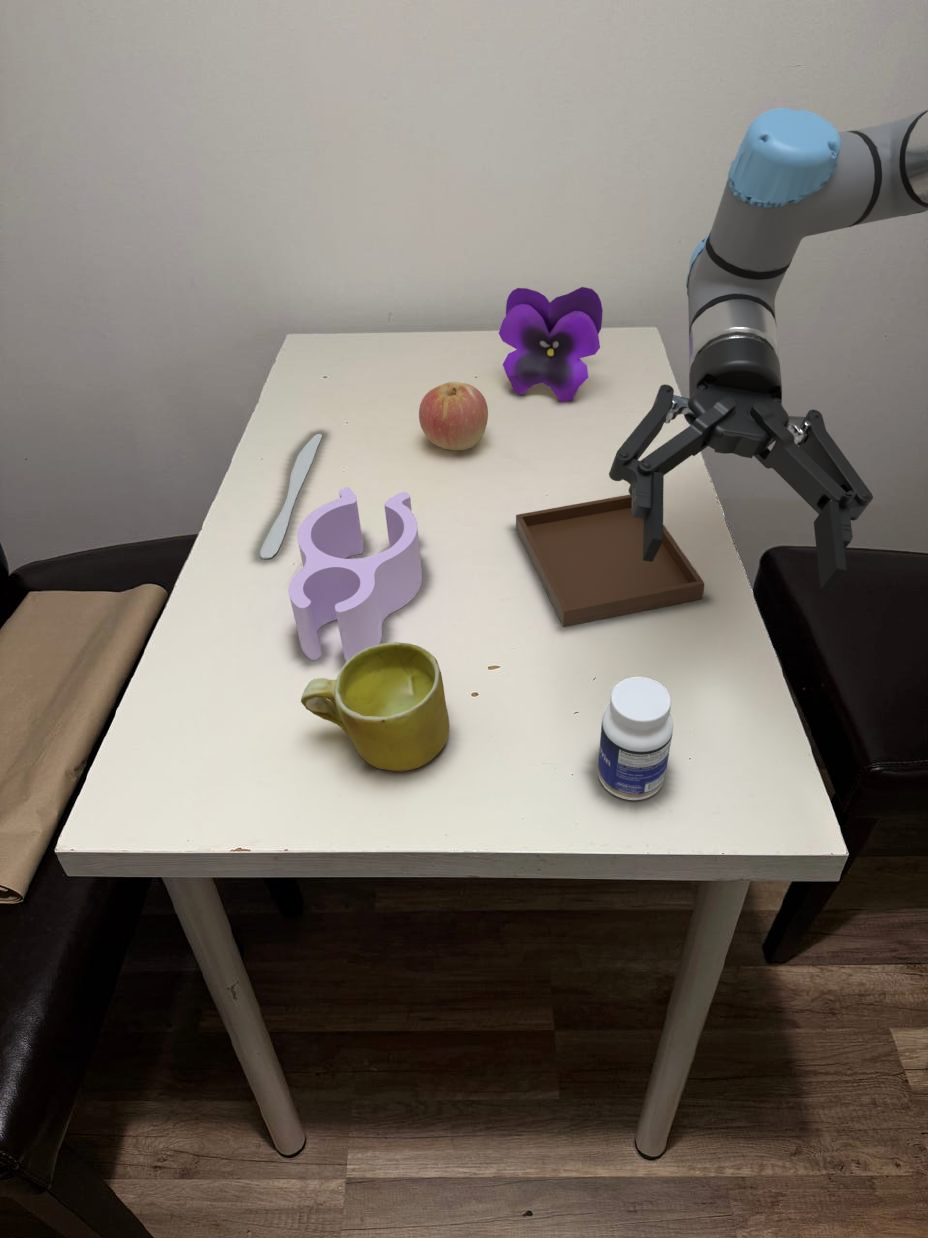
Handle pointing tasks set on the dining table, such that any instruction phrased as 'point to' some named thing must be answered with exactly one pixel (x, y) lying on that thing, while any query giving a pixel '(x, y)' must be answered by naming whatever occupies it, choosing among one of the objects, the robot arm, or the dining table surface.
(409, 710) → the mug
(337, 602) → the clip
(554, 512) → the brown square tray
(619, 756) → the pill bottle
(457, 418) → the apple
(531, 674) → the dining table surface
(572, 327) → the flower
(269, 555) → the butter knife
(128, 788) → the dining table surface
